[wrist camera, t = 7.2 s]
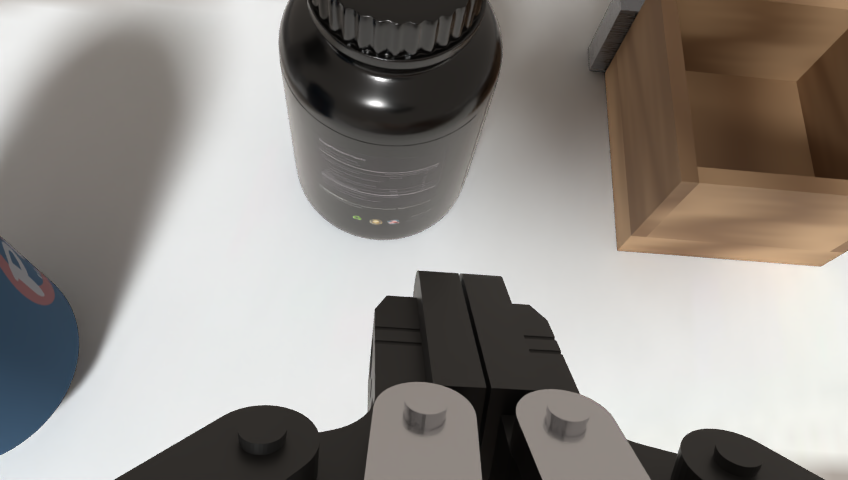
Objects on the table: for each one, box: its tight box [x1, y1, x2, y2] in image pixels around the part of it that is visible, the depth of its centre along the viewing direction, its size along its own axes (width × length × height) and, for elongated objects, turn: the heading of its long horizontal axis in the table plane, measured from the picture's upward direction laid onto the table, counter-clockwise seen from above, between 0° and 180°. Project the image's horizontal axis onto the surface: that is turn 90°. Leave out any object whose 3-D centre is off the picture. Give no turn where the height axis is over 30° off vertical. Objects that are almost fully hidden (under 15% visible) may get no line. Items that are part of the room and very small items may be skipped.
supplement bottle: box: [279, 0, 503, 240], centre depth 24 cm, size 7×7×12 cm
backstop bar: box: [588, 0, 645, 72], centre depth 31 cm, size 10×1×4 cm, turn 87°
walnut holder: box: [605, 0, 848, 266], centre depth 28 cm, size 9×9×6 cm
